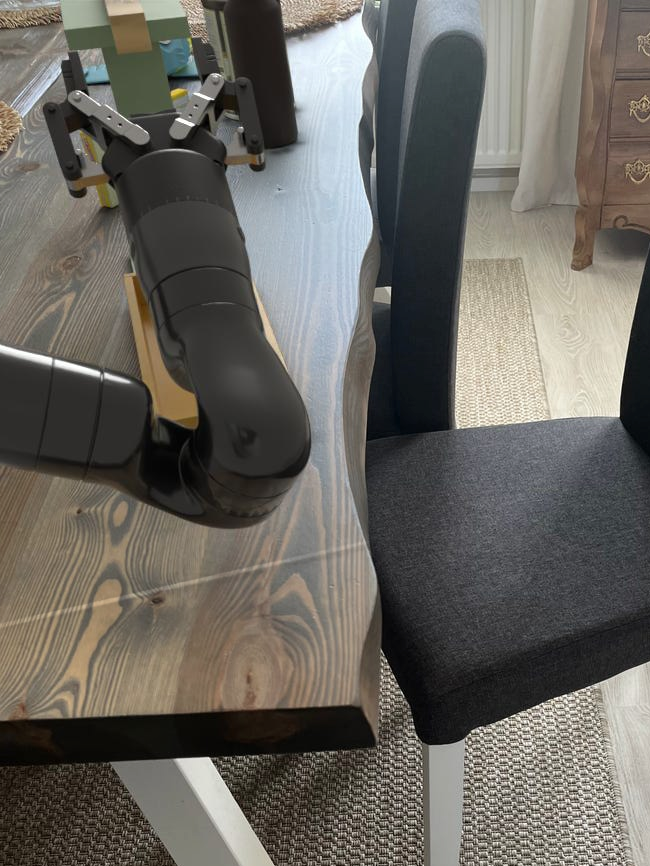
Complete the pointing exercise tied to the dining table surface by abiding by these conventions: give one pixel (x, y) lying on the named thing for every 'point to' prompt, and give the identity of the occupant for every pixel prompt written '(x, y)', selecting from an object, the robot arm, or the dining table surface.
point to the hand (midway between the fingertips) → (137, 52)
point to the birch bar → (128, 26)
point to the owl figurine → (173, 57)
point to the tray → (164, 390)
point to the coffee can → (224, 42)
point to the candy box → (96, 153)
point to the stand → (135, 72)
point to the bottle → (263, 65)
